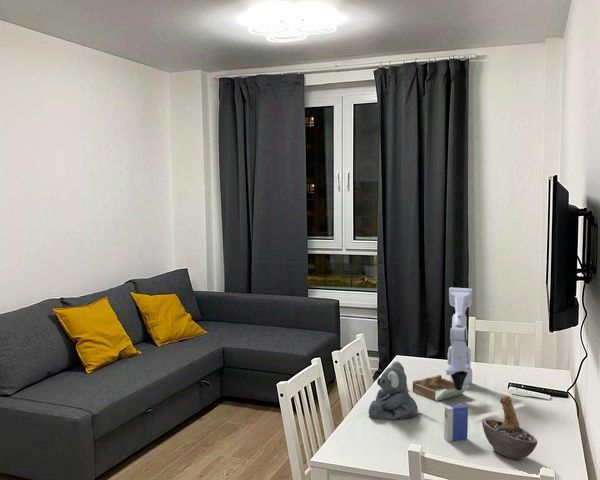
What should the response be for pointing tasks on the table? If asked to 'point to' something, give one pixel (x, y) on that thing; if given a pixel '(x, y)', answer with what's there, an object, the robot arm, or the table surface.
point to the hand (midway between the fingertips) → (458, 389)
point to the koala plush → (393, 396)
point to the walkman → (456, 422)
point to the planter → (509, 434)
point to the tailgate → (452, 393)
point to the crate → (431, 386)
